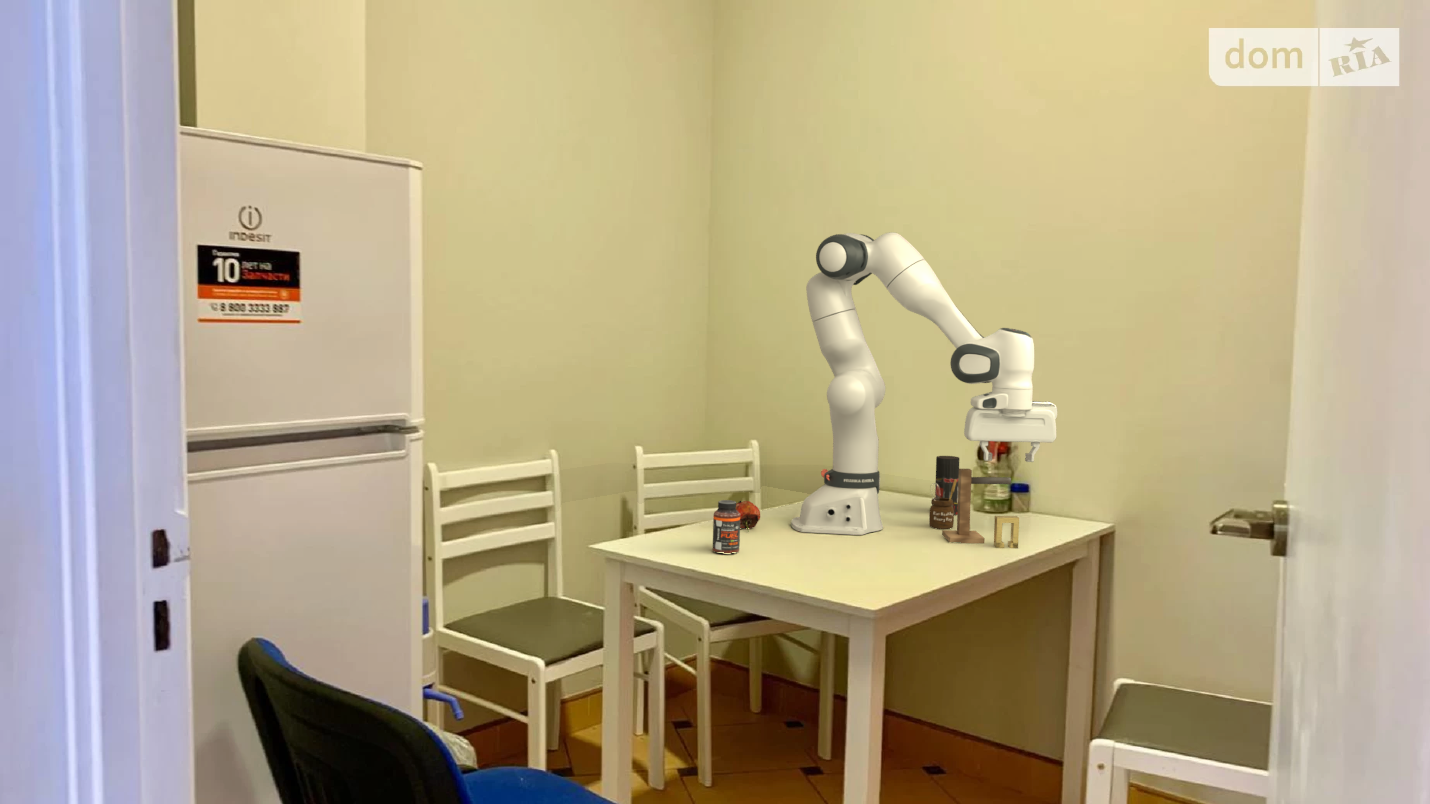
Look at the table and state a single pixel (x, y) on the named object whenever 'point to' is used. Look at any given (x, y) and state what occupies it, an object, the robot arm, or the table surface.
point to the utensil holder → (942, 511)
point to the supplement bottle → (726, 527)
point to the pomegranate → (748, 514)
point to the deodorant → (947, 478)
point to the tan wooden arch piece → (998, 531)
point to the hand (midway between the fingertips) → (1008, 461)
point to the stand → (968, 507)
